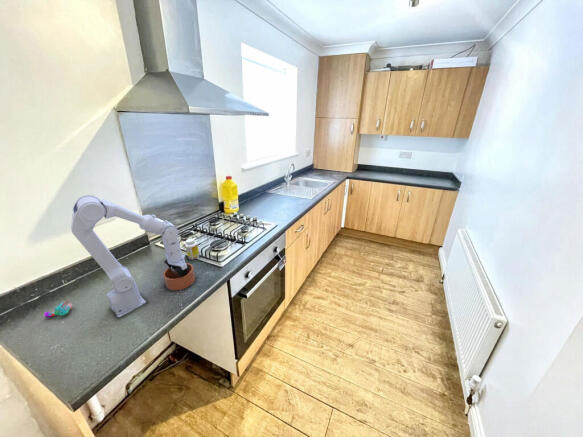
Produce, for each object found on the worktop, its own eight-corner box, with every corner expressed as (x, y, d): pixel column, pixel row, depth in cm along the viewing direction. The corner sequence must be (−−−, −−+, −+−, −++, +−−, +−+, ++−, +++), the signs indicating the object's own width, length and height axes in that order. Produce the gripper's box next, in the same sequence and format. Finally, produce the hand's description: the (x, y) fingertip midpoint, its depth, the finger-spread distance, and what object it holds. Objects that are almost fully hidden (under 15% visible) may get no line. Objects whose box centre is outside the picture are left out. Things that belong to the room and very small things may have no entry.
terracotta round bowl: (174, 295, 95) (171, 283, 93) (161, 283, 102) (158, 272, 100) (200, 280, 104) (198, 269, 101) (186, 270, 110) (184, 259, 108)
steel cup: (178, 286, 99) (174, 271, 96) (172, 281, 102) (168, 266, 99) (189, 280, 103) (185, 265, 100) (183, 275, 106) (179, 261, 103)
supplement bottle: (200, 253, 123) (197, 237, 119) (198, 259, 118) (194, 242, 114) (190, 254, 123) (186, 237, 119) (186, 260, 118) (182, 243, 114)
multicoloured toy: (54, 296, 88) (37, 308, 82) (76, 295, 89) (61, 307, 82) (58, 308, 90) (41, 320, 83) (80, 307, 90) (65, 319, 84)
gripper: (191, 251, 95) (197, 278, 100) (174, 240, 103) (180, 265, 109) (174, 259, 90) (181, 287, 95) (157, 247, 98) (165, 273, 104)
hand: (179, 276), depth 102 cm, fingers open, 7 cm apart
